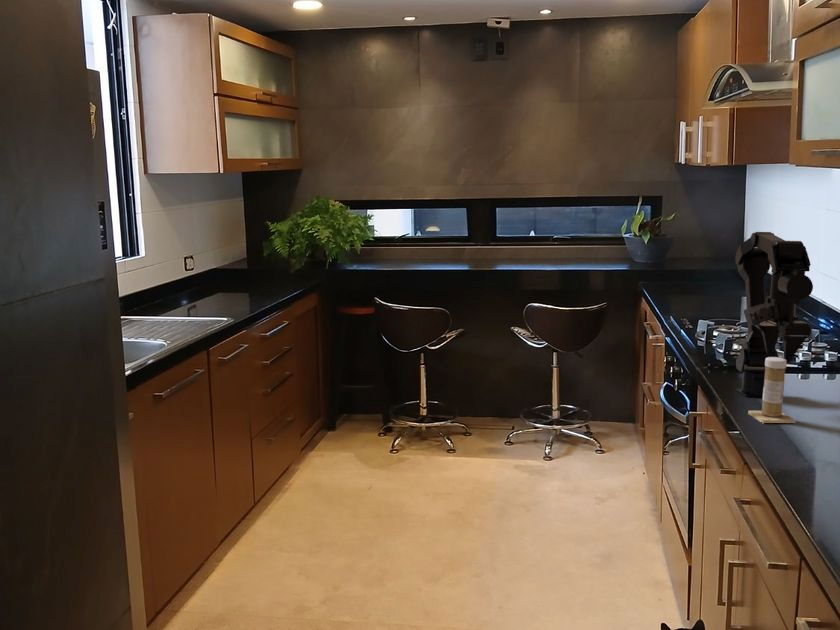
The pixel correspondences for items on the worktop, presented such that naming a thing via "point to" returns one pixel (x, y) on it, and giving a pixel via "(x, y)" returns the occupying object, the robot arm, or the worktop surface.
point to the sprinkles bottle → (773, 386)
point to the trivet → (771, 418)
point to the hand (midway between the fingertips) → (777, 358)
